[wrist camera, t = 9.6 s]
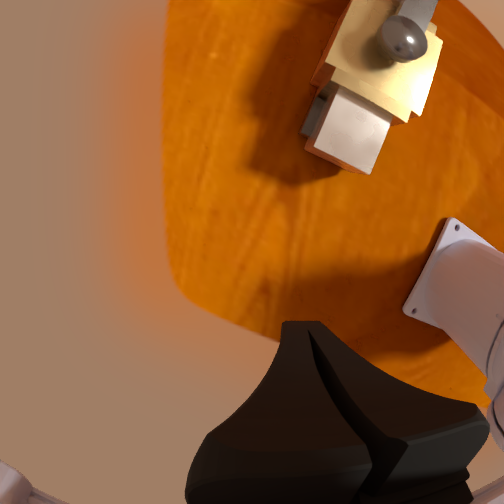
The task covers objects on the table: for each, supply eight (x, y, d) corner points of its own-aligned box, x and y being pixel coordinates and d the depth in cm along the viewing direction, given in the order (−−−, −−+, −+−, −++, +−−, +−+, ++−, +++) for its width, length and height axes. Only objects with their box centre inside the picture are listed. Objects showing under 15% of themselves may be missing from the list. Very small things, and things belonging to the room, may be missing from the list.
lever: (404, 75, 12) (426, 64, 9) (364, 48, 11) (382, 32, 9) (440, -12, 10) (459, -26, 7) (408, -35, 9) (424, -52, 7)
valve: (421, 21, 14) (456, -3, 9) (363, 180, 18) (398, 187, 13) (355, -17, 14) (377, -52, 9) (283, 141, 17) (294, 134, 12)
